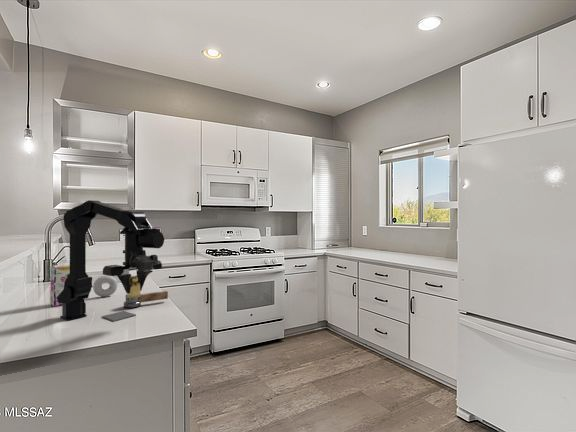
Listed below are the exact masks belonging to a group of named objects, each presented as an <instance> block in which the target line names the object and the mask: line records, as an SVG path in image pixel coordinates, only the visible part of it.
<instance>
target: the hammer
mask: <svg viewBox="0 0 576 432" xmlns="http://www.w3.org/2000/svg"><path fill="white" fill-rule="evenodd" d="M168 294H169V293H168V291H167V290H162V291H155V292H146V293H142V294H141V293H140V297H138V298H128V294H127V293H126V294H125V301H123V308H126V309H128V308H129V309H132V308H137V307H140V306H141V305H142V303H146V302H154V301H162V300H166V299H167V300H168V298H169V295H168Z"/></svg>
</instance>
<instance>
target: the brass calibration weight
mask: <svg viewBox="0 0 576 432" xmlns="http://www.w3.org/2000/svg"><path fill="white" fill-rule="evenodd" d="M138 278H139V276H137V275H131V277H130V292H129V294H128V298H138V297H140V294H141V291H140V281H138Z"/></svg>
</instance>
